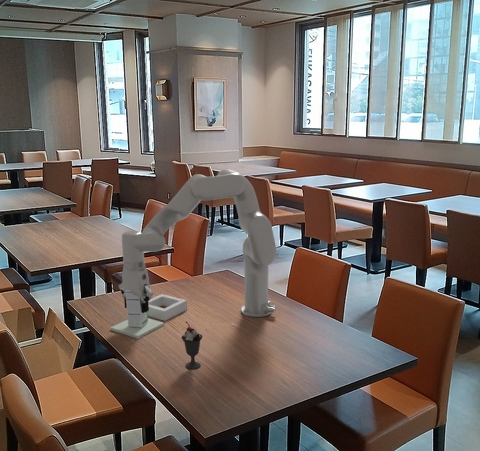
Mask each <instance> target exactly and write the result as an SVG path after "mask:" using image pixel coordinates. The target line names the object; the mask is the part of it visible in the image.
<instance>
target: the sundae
mask: <svg viewBox="0 0 480 451" xmlns="http://www.w3.org/2000/svg"><path fill="white" fill-rule="evenodd" d="M185 323H186V324H187V328H186V330H185V332H184V333H183V335H182V336H181V340H182V342H183V343H184V348H185V352H186V354H187V355H188V356H189V357H190V361H189V362H187V363H186V364H185V368H186V369H187V370H197V369H200V367H201V363H200V362H198V361H196V360H195V358H196V356H198V354H199V351H200V345H201V340H202V338H203V335H202V334H200V333H199V332H197V330H196V329H195V328H192V327H190V323H188V321H185Z"/></svg>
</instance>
